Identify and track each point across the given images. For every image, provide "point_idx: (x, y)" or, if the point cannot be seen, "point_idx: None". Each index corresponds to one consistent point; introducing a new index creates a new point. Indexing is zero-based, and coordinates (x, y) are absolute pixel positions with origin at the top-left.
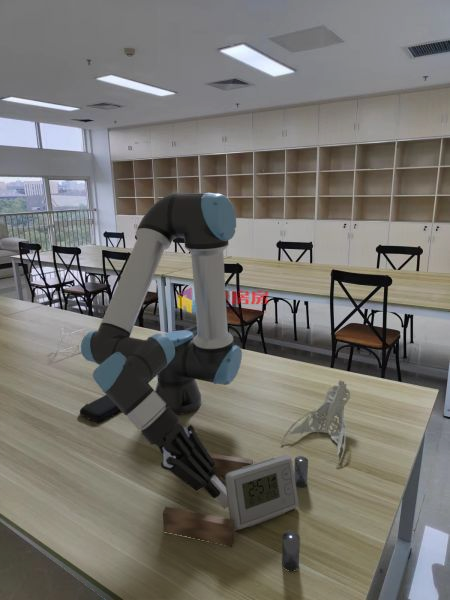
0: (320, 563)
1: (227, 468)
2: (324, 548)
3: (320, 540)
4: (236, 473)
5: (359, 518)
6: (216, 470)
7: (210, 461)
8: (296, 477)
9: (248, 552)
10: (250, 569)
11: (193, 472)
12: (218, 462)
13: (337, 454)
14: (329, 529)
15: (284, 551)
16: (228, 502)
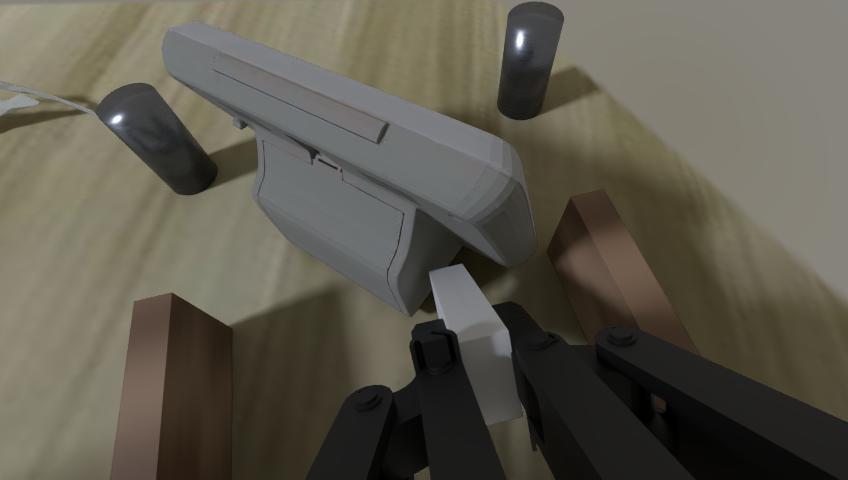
0: (474, 61)
1: (197, 449)
2: (427, 65)
3: (407, 77)
4: (460, 131)
5: (298, 37)
6: (428, 334)
7: (378, 418)
8: (192, 159)
9: (555, 197)
10: (602, 171)
11: (742, 414)
12: None
13: (36, 103)
14: (362, 72)
15: (553, 60)
16: (528, 233)
